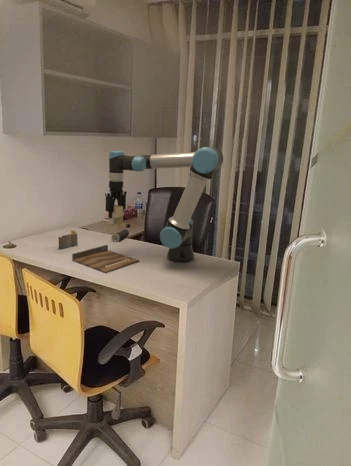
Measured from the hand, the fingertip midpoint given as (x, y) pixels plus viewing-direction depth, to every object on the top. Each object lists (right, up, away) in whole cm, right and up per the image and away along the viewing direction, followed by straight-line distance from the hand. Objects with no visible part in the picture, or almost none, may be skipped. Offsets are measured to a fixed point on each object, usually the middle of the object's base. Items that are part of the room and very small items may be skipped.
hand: (115, 223), depth 199 cm
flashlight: (-3, -10, +38) cm, 39 cm away
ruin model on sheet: (-31, -14, +16) cm, 37 cm away
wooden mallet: (+3, -1, -2) cm, 4 cm away
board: (-4, -21, -5) cm, 21 cm away
